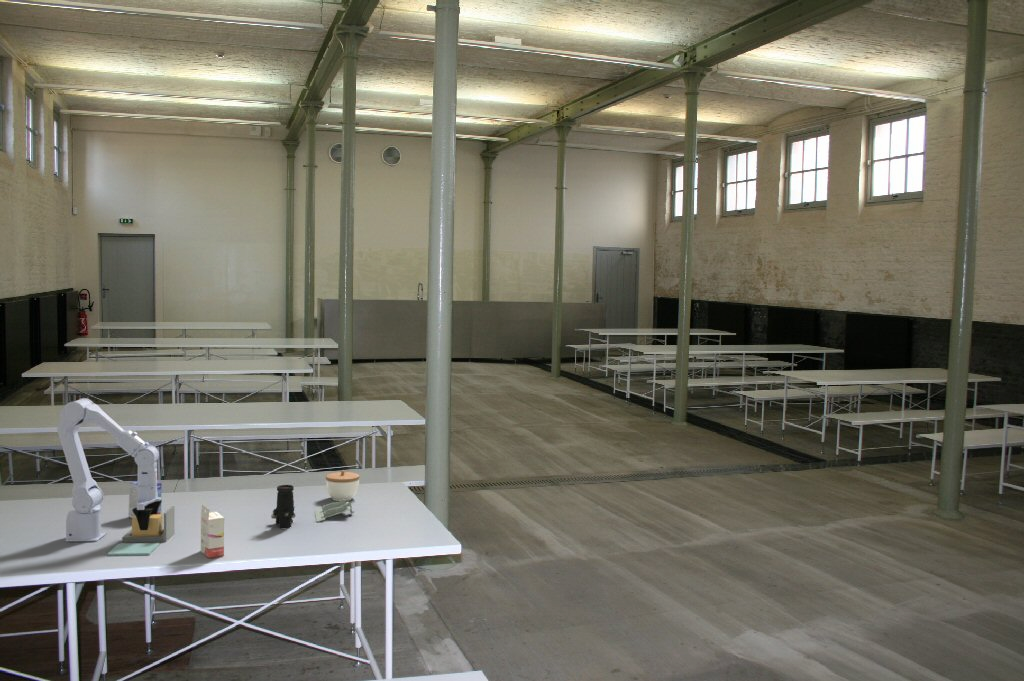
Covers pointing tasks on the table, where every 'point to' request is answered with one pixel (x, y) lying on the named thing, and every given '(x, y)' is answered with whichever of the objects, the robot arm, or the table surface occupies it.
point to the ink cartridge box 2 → (212, 533)
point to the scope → (284, 506)
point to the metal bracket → (332, 510)
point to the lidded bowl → (342, 485)
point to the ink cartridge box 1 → (134, 495)
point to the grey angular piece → (166, 534)
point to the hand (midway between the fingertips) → (147, 526)
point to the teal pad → (133, 549)
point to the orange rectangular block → (153, 528)
